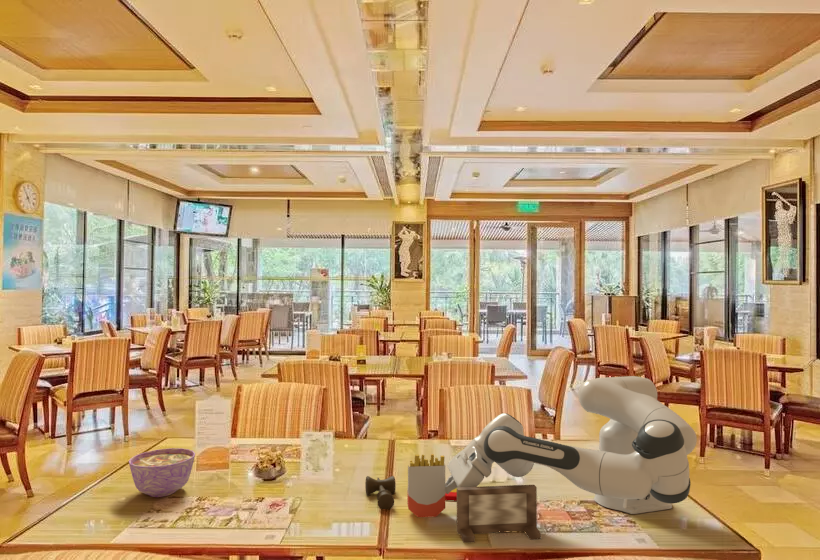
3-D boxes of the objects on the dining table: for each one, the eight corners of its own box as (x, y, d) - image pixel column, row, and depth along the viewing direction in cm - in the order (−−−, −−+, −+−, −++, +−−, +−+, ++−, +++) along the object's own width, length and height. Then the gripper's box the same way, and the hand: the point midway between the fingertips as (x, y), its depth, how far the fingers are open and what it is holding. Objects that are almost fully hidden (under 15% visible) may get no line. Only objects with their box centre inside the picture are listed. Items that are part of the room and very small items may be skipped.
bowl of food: (155, 479, 191) (155, 446, 191) (207, 483, 187) (207, 449, 187) (113, 501, 171) (114, 464, 172) (170, 506, 167) (170, 468, 167)
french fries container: (407, 511, 164) (407, 451, 164) (443, 510, 164) (443, 450, 165) (408, 517, 159) (408, 455, 159) (445, 516, 160) (445, 454, 160)
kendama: (370, 513, 164) (363, 487, 183) (401, 511, 165) (391, 486, 185) (370, 493, 164) (364, 469, 183) (402, 492, 165) (392, 468, 185)
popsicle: (442, 501, 172) (442, 495, 172) (445, 484, 187) (445, 479, 187) (460, 502, 172) (460, 496, 172) (461, 485, 186) (461, 479, 186)
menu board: (534, 527, 152) (534, 484, 153) (542, 539, 145) (542, 493, 146) (456, 531, 150) (456, 487, 150) (461, 543, 143) (461, 497, 143)
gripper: (463, 439, 173) (432, 471, 172) (477, 460, 153) (442, 496, 152) (476, 453, 174) (446, 485, 173) (492, 476, 153) (458, 512, 152)
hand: (444, 490), depth 162 cm, fingers closed, pressing on french fries container
